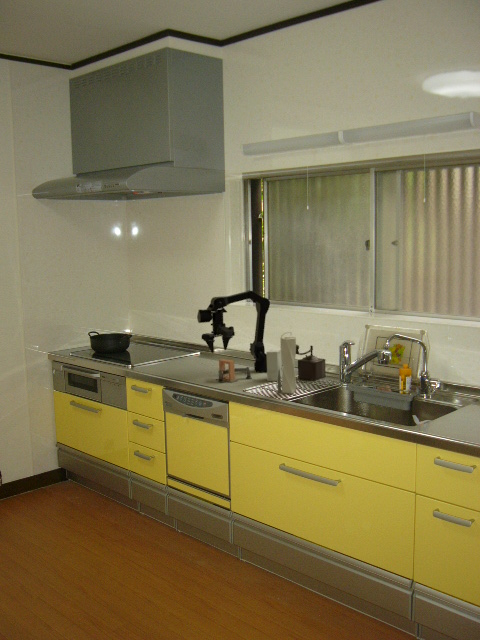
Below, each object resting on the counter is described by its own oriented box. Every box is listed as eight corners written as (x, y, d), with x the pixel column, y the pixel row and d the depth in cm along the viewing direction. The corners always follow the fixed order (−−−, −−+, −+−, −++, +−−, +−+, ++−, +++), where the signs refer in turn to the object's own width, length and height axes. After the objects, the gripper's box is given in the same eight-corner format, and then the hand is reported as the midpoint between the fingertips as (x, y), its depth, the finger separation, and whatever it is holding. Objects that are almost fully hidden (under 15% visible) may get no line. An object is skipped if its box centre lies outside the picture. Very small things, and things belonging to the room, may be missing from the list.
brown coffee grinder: (308, 374, 345) (307, 340, 342) (326, 376, 338) (325, 341, 335) (290, 380, 333) (289, 344, 331) (308, 382, 326) (307, 346, 323)
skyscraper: (283, 389, 315) (281, 331, 311) (299, 390, 312) (298, 331, 308) (277, 394, 307) (275, 334, 304) (293, 395, 304) (292, 334, 300)
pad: (223, 377, 342) (223, 377, 342) (238, 381, 334) (238, 380, 334) (216, 379, 339) (216, 379, 339) (231, 382, 331) (231, 382, 331)
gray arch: (251, 377, 341) (251, 366, 340) (251, 381, 332) (251, 370, 331) (218, 378, 341) (218, 367, 340) (217, 382, 332) (217, 371, 331)
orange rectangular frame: (223, 378, 340) (223, 359, 339) (234, 380, 335) (234, 361, 333) (219, 379, 338) (218, 360, 337) (230, 381, 333) (229, 362, 331)
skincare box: (278, 381, 331) (277, 352, 329) (266, 381, 332) (265, 351, 330) (282, 377, 338) (281, 349, 336) (271, 377, 340) (270, 348, 338)
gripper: (215, 325, 331) (216, 355, 333) (241, 320, 344) (242, 350, 346) (200, 323, 339) (201, 353, 341) (226, 318, 352) (227, 348, 354)
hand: (218, 351), depth 346 cm, fingers open, 9 cm apart
